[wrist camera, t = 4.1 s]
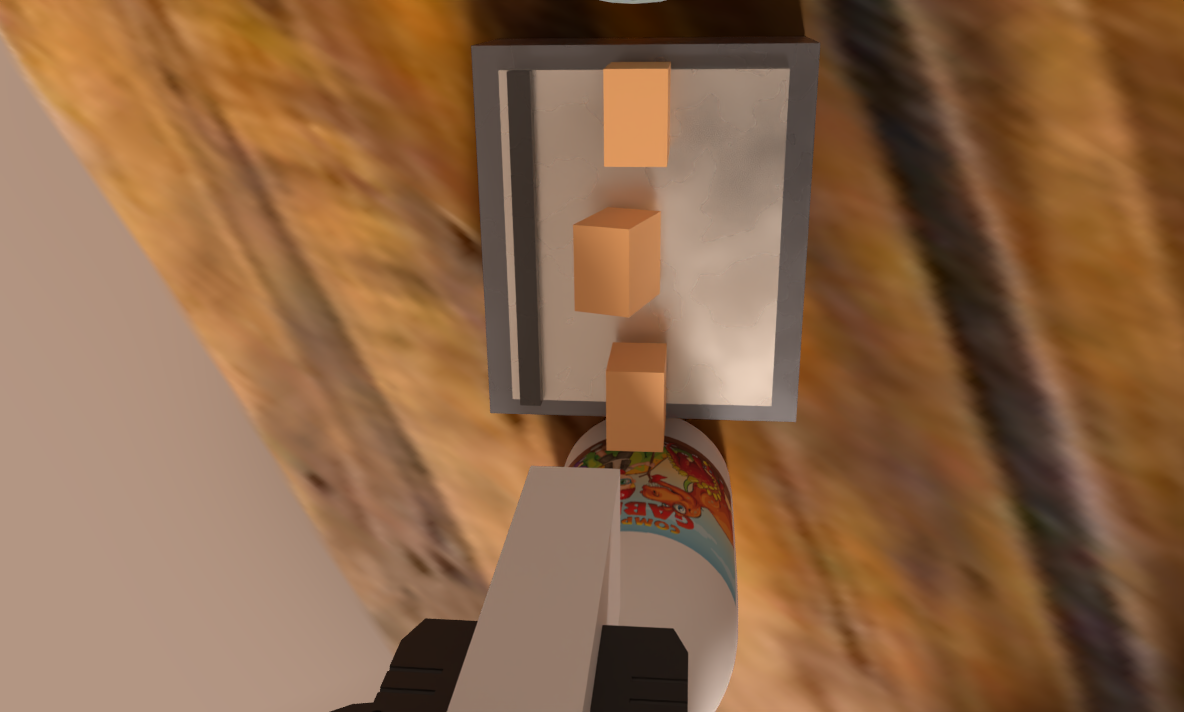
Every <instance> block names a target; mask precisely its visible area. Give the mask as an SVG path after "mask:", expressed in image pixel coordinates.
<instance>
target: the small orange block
mask: <svg viewBox="0 0 1184 712" xmlns="http://www.w3.org/2000/svg"><path fill="white" fill-rule="evenodd" d="M660 244H661V211H652V210H639V209H627V208H614V207H607V208H605V209H603V210H601V211H599V212H597V213H595V214H593V215H591V216H589V217H587V218H585V219H583V220H581V221H579V222H577V223H575V224H573V250H574V301H575V311H579V312H587V313H595V314H603V315H611V316H619V317H628V318H629V317H631V316H632V315H633V314H634V313H636V312H637V311H638V310H640V309H641V308H642V307H643V306H645V305H646V304H647V303H648V302H650V301H651V300H652V299H654V298H655V297H656V296H657V295H659V294H660Z"/></svg>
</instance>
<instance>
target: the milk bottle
mask: <svg viewBox="0 0 1184 712" xmlns="http://www.w3.org/2000/svg"><path fill="white" fill-rule="evenodd" d="M564 467H578V468H607V469H620V615H619V623H618V626H636V627H656V628H674V630H675V632H676V633H677V635H678V636H679V638H680V640H681V641H682V643H683V645H684V646H685V648H686V650H687V651H688V712H715V711H716V709H717V707H718V706H719V704H720V702H721V700H722V698H723V696H724V693H725V691H726V689H727V687H728V684H729V681H730V678H731V674H732V671H733V667H734V663H735V657H736V650H737V642H738V591H737V570H736V551H735V535H734V519H733V504H732V492H731V485H730V477H729V473H728V469H727V466H726V464H725V461H724V459H723V457H722V455H721V453H720V452H719V450H718V449H717V447H716V446H715V445H714V443H713V442H712V441H711V440H710V439H709V438H708V437H707V436H706V435H705V434H704V433H702V432H701V431H700V430H699V429H697V428H696V427H694V426H693V425H691V424H689V423H688V422H686V421H683V420H681V419H679V418H666V421H665V434H664V447H663V452H637V451H606V420H604V421H602V422H600V423H598V424H597V425H595V426H594V427H592V428H591V429H590V430H588V431H587V432H586V433H585V434H584V435H583V436H582V437H581V438H580V439H579V440H578V441H577V443H576V444H575V445H574V447H573V448H572V450H571V452H570V454H569V456H568V458H567V460H566V463H565V466H564Z"/></svg>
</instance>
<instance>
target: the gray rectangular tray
mask: <svg viewBox="0 0 1184 712" xmlns="http://www.w3.org/2000/svg"><path fill="white" fill-rule="evenodd" d="M471 51H472V70H473V89H474V108H475V127H476V146H477V165H478V184H479V203H480V222H481V242H482V261H483V280H484V299H485V318H486V337H487V356H488V375H489V394H490V413H508V414H542V415H577V416H606V369H607V364H608V360H609V356H610V352H611V348H612V343H613V342H625V343H667V363H666V418H680V419H715V420H749V421H784V422H796V412H797V397H798V381H799V365H800V350H801V334H802V319H803V303H804V288H805V272H806V256H807V241H808V225H809V210H810V194H811V179H812V163H813V147H814V132H815V116H816V101H817V85H818V70H819V54H820V43H819V42H817V41H815V40H812V39H810V38H808V37H806V36H762V37H643V38H524V39H495V40H491V41H488V42H484V43H480V44H476V45H473V46H471ZM611 62H671V85H670V152H669V158H668V164H667V167H604V97H603V69H604V68H605V67H606V66H607V65H609V64H610V63H611ZM607 207H614V208H627V209H639V210H652V211H661V244H660V294H659V295H657V296H656V297H655V298H654V299H652V300H651V301H650V302H648V303H647V304H646V305H645V306H643V307H642V308H641V309H640V310H638V311H637V312H636V313H634V314H633V315H632V316H631V317H629V318H628V317H619V316H611V315H603V314H595V313H587V312H579V311H575V301H574V250H573V224H575V223H577V222H579V221H581V220H583V219H585V218H587V217H589V216H591V215H593V214H595V213H597V212H599V211H601V210H603V209H605V208H607Z"/></svg>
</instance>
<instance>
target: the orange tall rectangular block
mask: <svg viewBox="0 0 1184 712" xmlns="http://www.w3.org/2000/svg"><path fill="white" fill-rule="evenodd" d="M670 85H671V62H611V63H610V64H609V65H607V66H606V67H605V68H604V69H603V97H604V167H667V164H668V158H669V152H670Z"/></svg>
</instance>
